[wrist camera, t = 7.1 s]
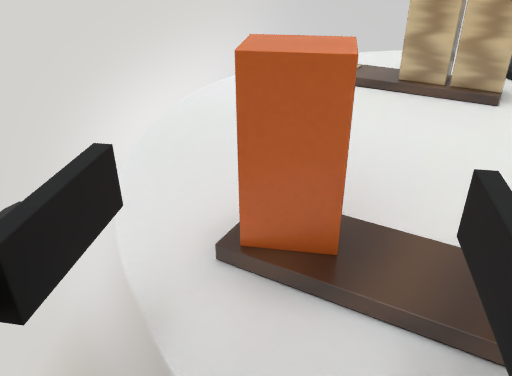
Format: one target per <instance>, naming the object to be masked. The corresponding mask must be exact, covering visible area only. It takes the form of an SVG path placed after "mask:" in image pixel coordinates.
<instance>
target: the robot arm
mask: <svg viewBox="0 0 512 376" xmlns="http://www.w3.org/2000/svg"><path fill="white" fill-rule="evenodd" d="M122 206H123V202H122V196H121V191H120V185H119V180H118V174H117V169H116V163H115V157H114V152H113V146H112V144H98V143H93V144H92V145H91V146H90V147H89V148H87V149H86V150H85V151H84V152H82V153H81V154H80V155H79V156H77V157H76V158H75V159H74V160H72V161H71V162H70V163H69V164H68V165H66V166H65V167H64V168H63V169H62V170H60V171H59V172H58V173H56V174H55V175H54V176H53V177H52V178H50V179H49V180H48V181H47V182H46V183H44V184H43V185H42V186H41V187H39V188H38V189H37V190H36V191H35V192H33V193H32V194H31V195H30V196H28V197H27V198H26V199H25V200H24V201H22V202H18V203H15V204H13V205H11V206H9V207H7V208H5V209H3V210H2V211H1V212H0V322H3V323H10V324H17V325H24V324H25V323H26V322H27V321H28V320H29V318H30V317H31V316H32V315H33V314H34V312H35V311H36V310H37V309H38V307H39V306H40V305H41V304H42V303H43V301H44V300H45V299H46V298H47V296H48V295H49V294H50V293H51V292H52V291H53V289H54V288H55V287H56V286H57V285H58V283H59V282H60V281H61V280H62V279H63V277H64V276H65V275H66V274H67V273H68V271H69V270H70V269H71V268H72V267H73V265H74V264H75V263H76V261H78V259H79V258H80V257H81V256H82V254H83V253H84V252H85V251H86V250H87V248H88V247H89V246H90V245H91V244H92V242H93V241H94V240H95V239H96V238H97V236H98V235H99V234H100V233H101V231H102V230H103V229H104V228H105V227H106V226H107V224H108V223H109V222H110V221H111V220H112V218H113V217H114V216H115V215H116V214H117V212H118V211H119V210H120V209H121V208H122ZM457 238H458V241H459V243H460V246H461V249H462V251H463V254H464V257H465V259H466V262H467V265H468V267H469V270H470V273H471V275H472V278H473V281H474V283H475V286H476V289H477V291H478V294H479V297H480V299H481V302H482V305H483V308H484V310H485V313H486V316H487V318H488V321H489V324H490V326H491V329H492V332H493V334H494V337H495V340H496V342H497V345H498V348H499V350H500V353H501V356H502V358H503V361H504V364H505V366H506V369H507V372H508V374H509V376H512V191H511V189H510V188H509V186H508V185H507V183H506V182H505V180H504V179H503V177H502V176H501V174H500V173H499V171H491V170H476V169H474V172H473V176H472V180H471V184H470V188H469V191H468V195H467V199H466V203H465V207H464V210H463V214H462V218H461V222H460V226H459V229H458V233H457Z"/></svg>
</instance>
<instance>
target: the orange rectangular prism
mask: <svg viewBox="0 0 512 376" xmlns="http://www.w3.org/2000/svg"><path fill="white" fill-rule="evenodd" d="M357 63H358V48H357V40H356V37H343V36H304V35H302V36H301V35H265V34H250V35H249V36H248V37H247V38H246V39H245V40H244V41H243V42H242V43H241V44H240V45H239V46H238V47H237V48H236V50H235V75H236V109H237V144H238V179H239V213H240V245H241V246H249V247H259V248H269V249H279V250H289V251H299V252H309V253H319V254H329V255H337V254H338V244H339V235H340V225H341V216H342V206H343V196H344V187H345V177H346V168H347V158H348V149H349V139H350V129H351V120H352V110H353V101H354V91H355V82H356V72H357Z"/></svg>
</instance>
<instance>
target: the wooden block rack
mask: <svg viewBox="0 0 512 376" xmlns="http://www.w3.org/2000/svg"><path fill="white" fill-rule="evenodd" d="M465 4H466V0H410V6H409V12H408V19H407V26H406V33H405V39H404V45H403V52H402V59H401V65H400V69H394V68H386V67H377V66H369V65H361V64H357V72H356V82H355V86H362V87H369V88H376V89H383V90H390V91H397V92H404V93H411V94H418V95H425V96H432V97H439V98H446V99H453V100H460V101H467V102H474V103H481V104H488V105H495V106H498V103H499V100H500V97H501V93H502V90H503V86H504V82H505V79H506V75H507V71H508V67H509V64H510V60H511V56H512V0H468V2H467V7H466V12H465V17H464V21H463V26H462V31H461V36H460V40H459V45H458V50H457V55H456V59H455V64H454V69H453V74H452V75H451V71H452V67H453V62H454V57H455V52H456V47H457V42H458V38H459V33H460V28H461V23H462V19H463V14H464V9H465Z"/></svg>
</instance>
